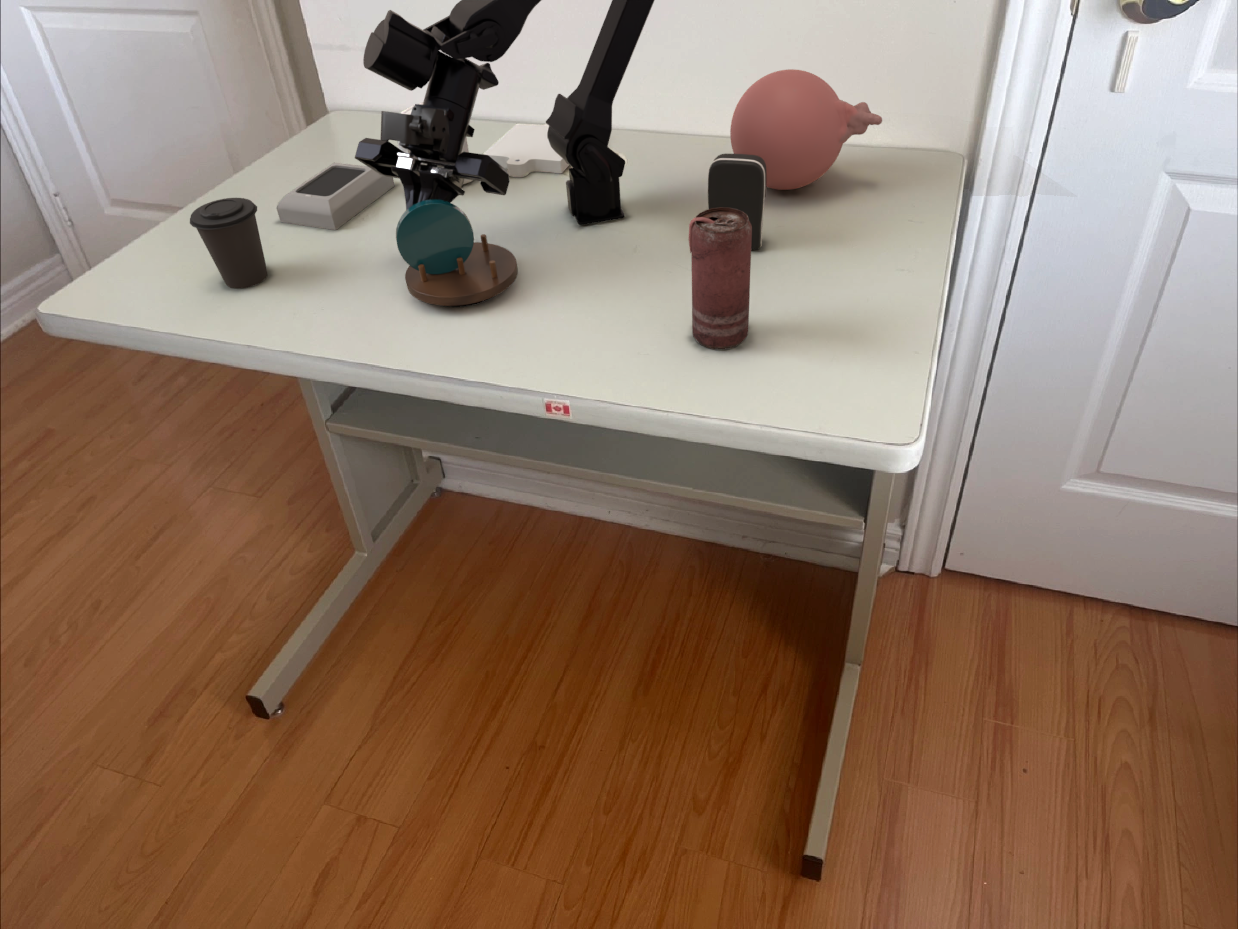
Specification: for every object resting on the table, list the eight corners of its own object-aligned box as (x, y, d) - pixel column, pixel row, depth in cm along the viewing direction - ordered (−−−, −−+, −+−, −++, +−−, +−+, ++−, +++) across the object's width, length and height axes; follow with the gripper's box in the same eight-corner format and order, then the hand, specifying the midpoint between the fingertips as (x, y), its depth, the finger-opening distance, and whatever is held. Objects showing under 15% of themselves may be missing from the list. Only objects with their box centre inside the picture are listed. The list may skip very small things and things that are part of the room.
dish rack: (508, 243, 120) (496, 166, 113) (526, 293, 109) (515, 212, 103) (402, 261, 117) (384, 185, 111) (412, 314, 107) (392, 233, 101)
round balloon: (868, 214, 122) (883, 96, 112) (719, 204, 127) (720, 90, 117) (877, 167, 133) (891, 55, 123) (740, 159, 138) (742, 52, 128)
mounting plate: (555, 180, 137) (553, 167, 136) (476, 173, 141) (474, 161, 139) (597, 134, 149) (596, 122, 148) (524, 129, 153) (522, 117, 152)
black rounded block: (766, 238, 119) (770, 151, 112) (761, 251, 116) (764, 163, 109) (712, 234, 121) (713, 148, 113) (706, 247, 118) (706, 160, 111)
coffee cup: (219, 300, 115) (190, 226, 109) (209, 273, 121) (181, 201, 115) (284, 282, 118) (260, 208, 111) (271, 257, 124) (247, 185, 117)
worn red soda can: (686, 324, 104) (684, 207, 95) (742, 318, 105) (745, 202, 96) (694, 354, 100) (693, 234, 91) (752, 348, 100) (757, 228, 91)
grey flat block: (389, 161, 137) (328, 205, 126) (394, 185, 139) (335, 230, 129) (336, 155, 140) (272, 197, 129) (342, 178, 142) (280, 221, 132)
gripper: (342, 68, 106) (306, 200, 106) (478, 83, 98) (439, 224, 99) (400, 112, 116) (367, 232, 116) (526, 128, 109) (491, 256, 109)
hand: (413, 235), depth 110 cm, fingers closed
